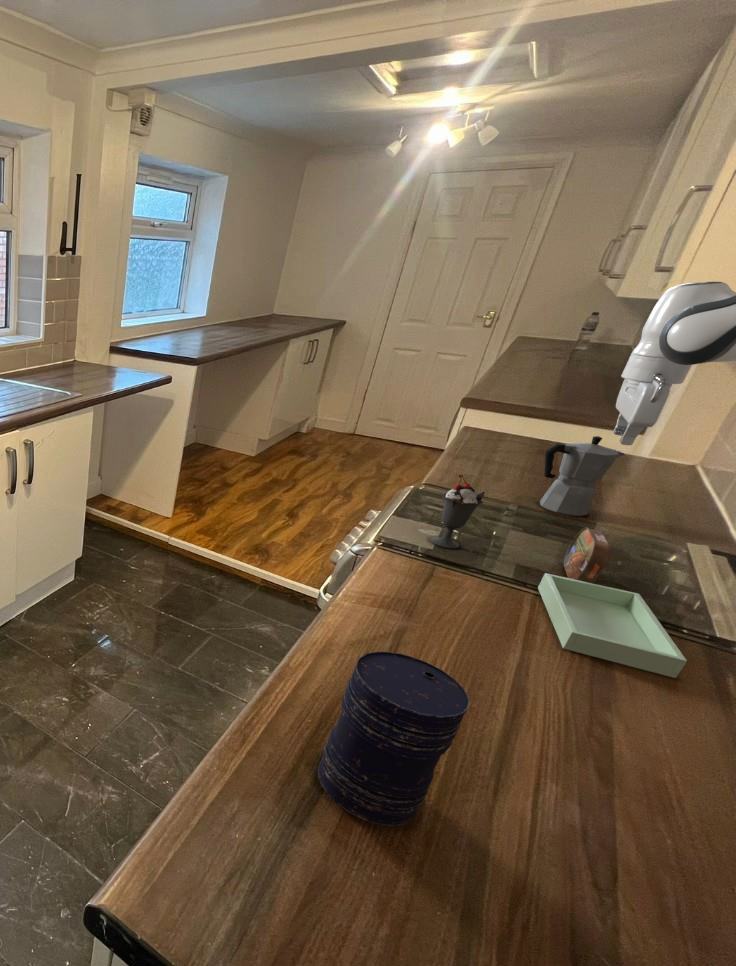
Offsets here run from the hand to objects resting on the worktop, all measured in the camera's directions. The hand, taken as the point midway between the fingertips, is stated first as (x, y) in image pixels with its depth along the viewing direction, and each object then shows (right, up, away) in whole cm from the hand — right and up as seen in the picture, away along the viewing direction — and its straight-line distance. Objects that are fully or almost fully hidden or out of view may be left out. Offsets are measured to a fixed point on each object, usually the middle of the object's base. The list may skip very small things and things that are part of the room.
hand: (621, 439), depth 120 cm
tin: (-20, -28, -11) cm, 36 cm away
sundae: (-37, -22, +1) cm, 43 cm away
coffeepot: (+5, -13, +20) cm, 25 cm away
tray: (-32, -35, -26) cm, 54 cm away
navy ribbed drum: (-88, -49, -56) cm, 115 cm away
